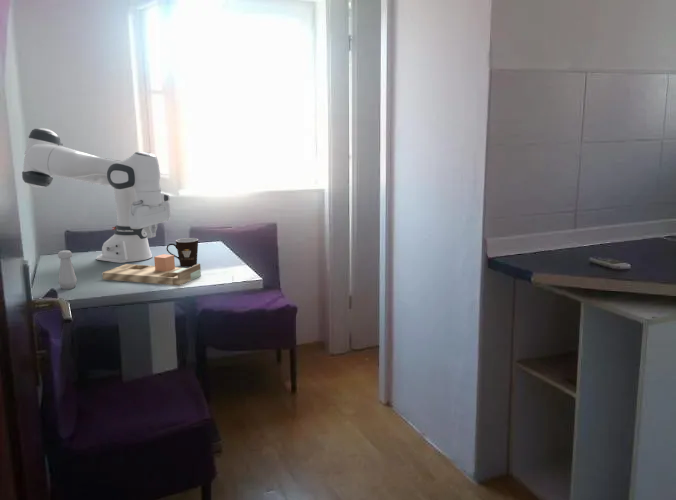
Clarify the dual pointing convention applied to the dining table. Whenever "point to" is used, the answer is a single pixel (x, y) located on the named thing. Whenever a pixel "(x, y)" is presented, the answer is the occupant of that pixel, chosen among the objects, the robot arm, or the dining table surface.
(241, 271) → the dining table surface
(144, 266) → the trap box
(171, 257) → the block
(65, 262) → the salt shaker
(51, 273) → the dining table surface
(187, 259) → the coffee mug
